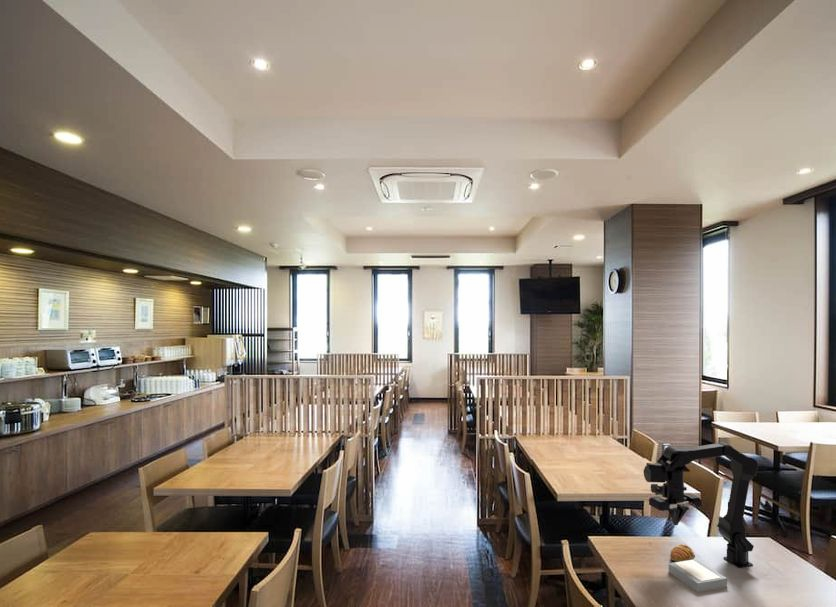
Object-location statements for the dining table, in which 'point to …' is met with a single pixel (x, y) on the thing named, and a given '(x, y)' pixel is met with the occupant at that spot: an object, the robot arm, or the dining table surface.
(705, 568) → the plinth
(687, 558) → the pastry
